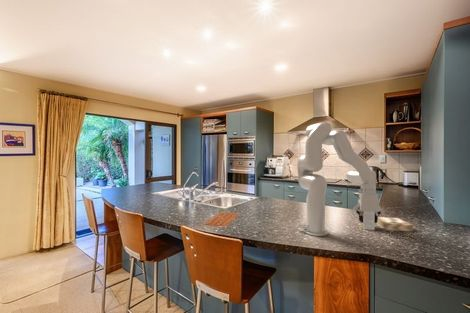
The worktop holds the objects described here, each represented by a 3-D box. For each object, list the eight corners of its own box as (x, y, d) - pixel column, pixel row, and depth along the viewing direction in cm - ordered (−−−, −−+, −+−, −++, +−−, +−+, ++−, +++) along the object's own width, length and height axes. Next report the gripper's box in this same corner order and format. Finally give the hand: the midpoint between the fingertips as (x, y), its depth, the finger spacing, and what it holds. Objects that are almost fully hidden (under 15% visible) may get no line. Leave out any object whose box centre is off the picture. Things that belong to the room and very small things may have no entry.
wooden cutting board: (239, 215, 158) (239, 213, 158) (226, 228, 129) (226, 225, 129) (220, 213, 162) (220, 211, 162) (203, 226, 133) (203, 223, 133)
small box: (362, 225, 134) (362, 207, 134) (372, 226, 131) (372, 208, 131) (363, 229, 126) (363, 210, 126) (374, 230, 124) (374, 211, 124)
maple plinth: (385, 230, 125) (385, 223, 125) (374, 222, 138) (374, 216, 138) (413, 231, 123) (413, 224, 123) (398, 223, 136) (398, 217, 136)
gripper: (354, 192, 126) (354, 223, 126) (387, 193, 124) (387, 225, 124) (349, 190, 134) (349, 219, 134) (381, 191, 131) (381, 221, 131)
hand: (368, 222), depth 129 cm, fingers closed on small box, 6 cm apart
